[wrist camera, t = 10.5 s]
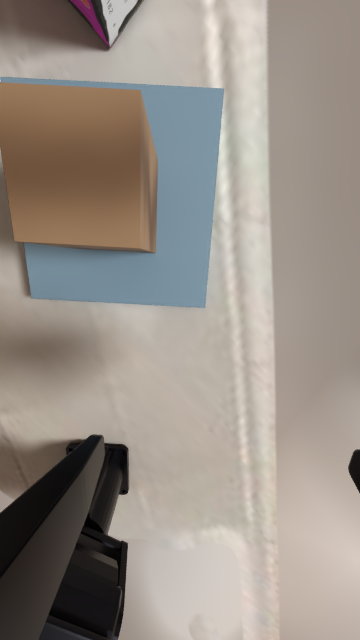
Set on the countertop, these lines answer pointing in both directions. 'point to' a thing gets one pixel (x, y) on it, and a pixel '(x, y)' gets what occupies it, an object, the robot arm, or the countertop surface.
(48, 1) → the countertop surface
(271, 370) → the countertop surface
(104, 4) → the candy bar box
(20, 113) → the walnut cube
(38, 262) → the slate board
